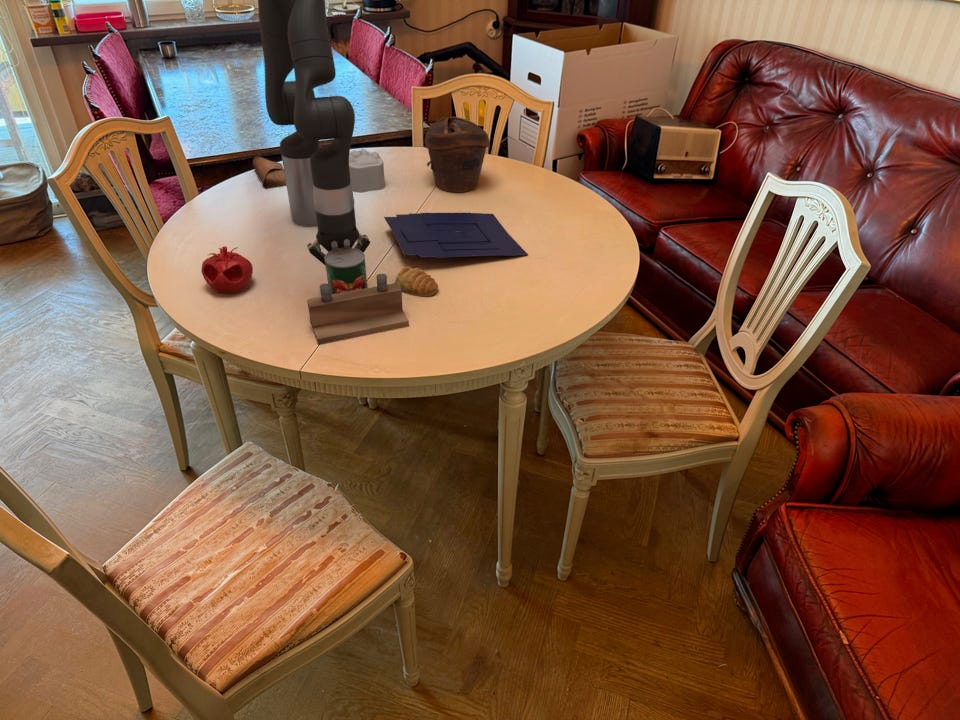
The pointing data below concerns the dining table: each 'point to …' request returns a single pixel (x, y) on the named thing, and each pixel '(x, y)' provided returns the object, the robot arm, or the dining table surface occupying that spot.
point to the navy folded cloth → (452, 235)
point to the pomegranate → (227, 271)
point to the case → (456, 153)
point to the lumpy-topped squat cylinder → (366, 171)
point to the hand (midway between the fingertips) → (343, 281)
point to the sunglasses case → (269, 172)
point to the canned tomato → (346, 270)
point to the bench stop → (356, 311)
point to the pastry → (416, 282)
